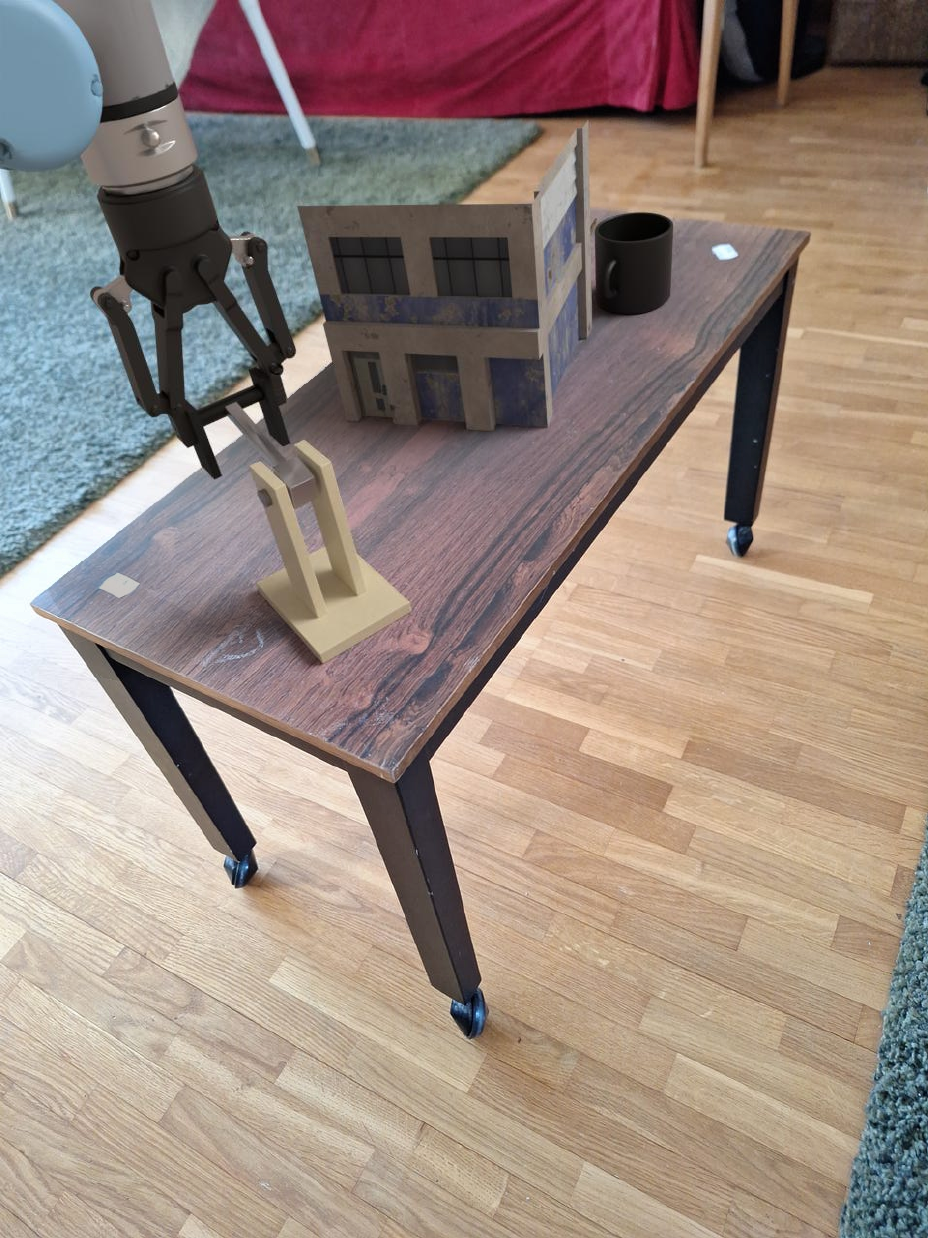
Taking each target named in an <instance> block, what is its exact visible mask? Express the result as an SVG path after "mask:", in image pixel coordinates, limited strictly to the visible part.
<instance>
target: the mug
mask: <svg viewBox="0 0 928 1238" xmlns="http://www.w3.org/2000/svg"><path fill="white" fill-rule="evenodd" d="M673 242H674V223H673V221H672V219H670V218H669V217H667V216H665V215H663V214H660V213H655V212H647V211H646V212H645V211H640V212H639V211H638V212H626V213H621V214H617V215H614V216H613V215H612V216H610V217H608V218H606V219H603V220H601V221H600V222H599V223H598V224H596V225H595V227H594V266H595V267H594V268H595V271H594V272H595V273H594V274H595V278H594V279H595V301H596V303H597V305H598V306H599V307H600V308H602V309H603V310H605V311H608V312H610V313H613V314H623V315H633V314H642V313H649V312H651V311H655V310H657V309H659V308H660V307H662V306H664V305H665V304H666V303H667V302H668V300H669V298H670V296H671V289H672V286H671V285H672V267H673V266H672V263H673V244H674V243H673Z"/></svg>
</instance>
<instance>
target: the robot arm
mask: <svg viewBox="0 0 928 1238" xmlns="http://www.w3.org/2000/svg"><path fill="white" fill-rule="evenodd" d="M79 157H80V159H81V161H82V165H83V166H84V169H85V171H86V174H87V176H88V179H89V181H90V182H91V183H93V184H94V185H96V186H98V187H99V188H98V190H97V194H96V199H97V202H98V204H99V207H100V209H101V212H102V214H103V216H104V220H105V222H106V224H107V226H108V229H109V231H110V234H111V236H112V239H113V241H114V244H115V247H116V250H117V251H118V256H119V265H118V270H119V271H118V273H119V275H118V276H117V277H116V278H114V279H113V280H112V281H110V282H109V283H108V284H106V285H105V286H104V287H102V286H99V285H96V286H93V287H92V288H91V289H90V291H89V297H90V299H91V301H92V302H93V303H94V304H95V306H96V307H97V308H98V309H99V310H100V312H101V313H102V314H103V315H104V317H105V318H106V320H107V323H108V326H109V328H110V331H111V334H112V337H113V340H114V343H115V345H116V348H117V351H118V354H119V357H120V360H121V362H122V366H123V368H124V370H125V374H126V376H127V379H128V382H129V386H130V388H131V391H132V393H133V396H134V399H135V401H136V404H137V405H138V406H139V407H140V408H141V409H142V410H143V411H144V412H145V413H146V414H147V415H148V416H149V417H151V418H157V417H159V416H161V415H167V417H168V419H169V422H170V425H171V426H172V429H173V431H174V434H175V437H176V438H177V439H178V440H179V442H181V443H182V444H183V445H184V446H185V447H186V448H187V449H189V448H191V447H193V449H194V451H195V453H196V456H197V459H198V461H199V464H200V466H201V468H202V469H203V470H204V471H205V472H206V473H207V474H208V475H209V476H210V477H211V478H212V479H213V480H217V479H219V478H221V477H223V474H222V471H221V469H220V466H219V463H218V460H217V458H216V456H215V453H214V451H213V447H212V446H211V442H210V440H209V438H208V434H207V433H206V430H205V426H204V427H203V425H202V422H201V419H200V417H199V414H198V412H197V409H198V408H197V409H196V407H194V405H192V403H190V402H189V401H188V400H187V399H186V389H185V387H186V386H185V372H184V368H185V367H184V352H183V351H184V349H183V334H182V330H183V329H184V314H186V313H189V312H190V311H192V310H193V309H194V308H196V307H197V306H202V305H203V306H204V305H209V304H212V305H213V306H214V308H215V309H216V310H217V311H218V313H219V314H220V316H221V317H222V318H223V320H224V321H225V323H226V324H227V325H228V327H229V329H231V331H232V332H233V334H234V335H235V336H236V338H237V339H238V341H239V342H240V344H241V345H242V346H243V347H244V349H245V350H246V352H247V353H248V355H249V356H250V357H251V359H252V361H253V362H254V363H255V364H257V366H254V367H252V368H250V369H248V373H249V376H250V379H251V382H252V385H254V384H258V385H259V386H260V388H261V389H262V391H263V394H264V400H262V401H260V402H258V404H259V407H260V410H261V414H262V416H263V420H264V423H265V426H266V428H267V432H268V435H269V436H270V438H272V439H273V440H275V442H277V443H278V444H279V445H280V446H281V447H283V448H284V447H286V446H288V445H290V444H291V443H292V442H291V440H290V437H289V432H288V431H287V427H286V423H285V420H284V417H283V414H282V411H281V406H284V405H285V404H287V401H288V395H287V393H286V389H285V386H284V382H283V379H282V375H283V374H284V370H285V369H284V368H285V367H284V365H283V363H285V361H287V359H288V360H290V359H293V358H294V357H295V356H296V355H297V348H296V345H295V342H294V340H293V336H292V333H291V331H290V327H289V325H288V322H287V320H286V319H287V318H286V317H285V314H284V311H283V308H282V305H281V303H280V299H279V296H278V294H277V291H276V287H275V285H274V282H273V279H272V276H271V274H270V271H269V255H268V254H269V252H268V250H269V249H268V243H267V242H266V240H265V239H264V238H261V237H259V236H258V235H256V234H254V233H253V232H250V231H246V230H245V231H243V232H242V233H241V234H240V235H232V236H231V235H230V236H229V234H228V233H226V232H225V231H224V230H223V228H222V226H221V225H220V222H219V217H218V214H217V210H216V207H215V205H214V201H213V198H212V195H211V194H212V193H211V192H210V188H209V185H208V182H207V178H206V175H205V172H204V170H203V169H201V168H200V167H199V166H198V165H196V164H194V163H195V162H196V160H197V158H198V157H199V154H198V152H197V147H196V144H195V142H194V138H193V134H192V132H191V129H190V126H189V122H188V118H187V116H186V112H185V109H184V106H183V102H182V100H181V96H180V94H179V90H178V87H177V84H176V81H175V78H174V77H173V73H172V69H171V66H170V63H169V59H168V55H167V52H166V49H165V44H164V42H163V39H162V35H161V31H160V28H159V24H158V22H157V18H156V14H155V11H154V8H153V5H152V1H151V0H0V170H5V171H14V172H15V171H16V172H17V171H19V172H26V173H43V172H45V173H46V172H52V171H55V170H58V169H62V168H63V167H65V166H67V165H70V164H71V163H72V162H74V161H75V160H76V159H78V158H79ZM232 254H233V257H234V260H235V262H236V263H238V265H240V266H241V269H242V273H243V276H244V278H245V281H246V284H247V286H248V289H249V292H250V294H251V297H252V300H253V302H254V304H255V308H256V310H257V313H258V316H259V318H260V321H261V324H262V327H263V330H264V331H265V334H266V338H267V340H268V343H269V344H267V343H266V342H265V340H264V339H263V338H262V336H261V335H260V333H259V332H258V331H257V329H256V328H255V326H254V325H253V323H252V322H251V321H250V319H249V317H248V316H247V314H246V313H245V312H244V311H243V309H242V307H241V306H240V305H239V303H238V299H237V298H236V296H235V295H234V294H233V293H232V291H231V290H230V288H229V287H228V285H227V283H226V282H225V279H226V275H227V272H228V269H229V264H230V262H231V258H232ZM133 291H134V292H136V293H138V294H139V295H141V296H142V297H144V298H145V299H147V300H148V301H150V313H151V317H152V319H153V323H154V338H155V353H156V364H157V380H158V392H159V393H158V392H157V389H156V386H155V383H154V381H153V378H152V374H151V371H150V368H149V365H148V362H147V359H146V357H145V353H144V350H143V346H142V344H141V340H140V339H139V335H138V332H137V329H136V327H135V324H134V322H133V320H132V319H131V317H130V315H129V313H130V312H131V310H132V309H133V304H132V302H131V299H130V295H131V293H132V292H133Z"/></svg>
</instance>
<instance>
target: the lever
mask: <svg viewBox="0 0 928 1238" xmlns="http://www.w3.org/2000/svg"><path fill="white" fill-rule="evenodd" d="M262 400H264V394H263V391H262V389H261V388H260V386H259V385H258V384H254V385H253V384H252V385H250V386H247V387H246V388H242V389H241V390H239V391H236V392H234V393H232V394H229V395H227V396H225V397H222V398H220V399H218V400H215V401H213V402H212V403H209V404H207V405H204V406H202V407H200V408H197V412H198V414H199V417H200V419H201V422H202V425H203V427H204V428H205V427H206V426H209V425H211V424H213V423H215V422H218V421H220V420H223V419H224V418H227V417H228V419H229V420H230V421H231V422H232V423H233V424H234V426H235V427H236V428H237V429H238V430H239V432H240V433H241V434H242V435H243V436H244V437H245V438H246V440H247V441H248V442H249V443H250V444H251V446H252V447H253V448H254V449H255V450H256V451H257V453H258V454H259V455H260V456H261V457H262V459H264V461H265V462H266V463H267V464H268V465H269V466H270V468H271V469H272V473H273V474H275V475H276V476H277V477H278V478H279V479H280V480H281V481H282V482H283V483H284V484H285V485H286V488H287V491H288V494H289V497H290V500H291V503H292V506H293V509H294V510H297V509H299V508H301V507H304V506H305V505H307V504H309V503H312V502H311V501H313V500H315V499H317V498H319V497H318V491H317V486H316V480H315V476H314V475H313V474H312V473H311V472H310V471H309V469H308V468H307V467H306V466H305V465H304V464H303V463H302V462H301V460H300V459H299V458H298V457H297V455H295V456H293V457H291V458H289V459H287V458H286V457H285V455H283V453H282V452H281V451H280V450H279V449H278V448H277V446H276V445H275V444H274V443H273V442H272V441H271V440H270V439H269V438H268V436H267V435H266V434H265V433H264V432H263V431H262V429H261V428H260V427H259V426H258V425H257V424H256V422H254V420H253V419H252V418H251V417H250V415H248V414H247V412H246V411H245V410H244V409H247V408H249V407H250V406H251V407H252V406H253V405H255V404H257V403H259V402H260V401H262Z"/></svg>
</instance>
